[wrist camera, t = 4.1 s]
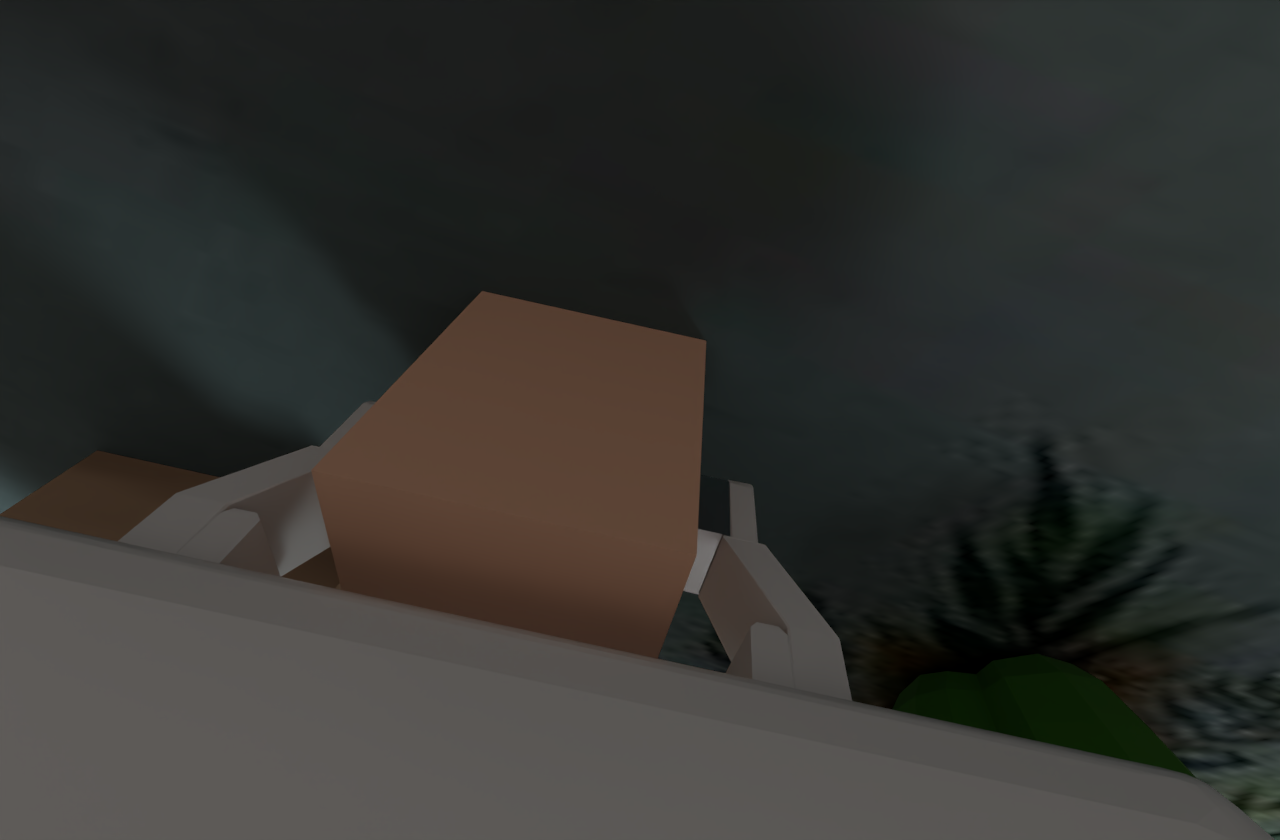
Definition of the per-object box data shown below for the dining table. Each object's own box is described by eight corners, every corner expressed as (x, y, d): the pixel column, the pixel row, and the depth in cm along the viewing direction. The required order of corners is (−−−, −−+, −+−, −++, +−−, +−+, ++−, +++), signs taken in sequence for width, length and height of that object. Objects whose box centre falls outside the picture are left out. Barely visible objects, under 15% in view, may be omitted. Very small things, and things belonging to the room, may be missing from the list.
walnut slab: (413, 658, 22) (360, 765, 19) (196, 611, 22) (106, 711, 18) (392, 506, 16) (313, 619, 13) (106, 443, 16) (-44, 542, 13)
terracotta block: (660, 500, 15) (630, 729, 10) (481, 461, 14) (361, 671, 10) (706, 340, 12) (696, 555, 7) (482, 290, 12) (310, 470, 7)
